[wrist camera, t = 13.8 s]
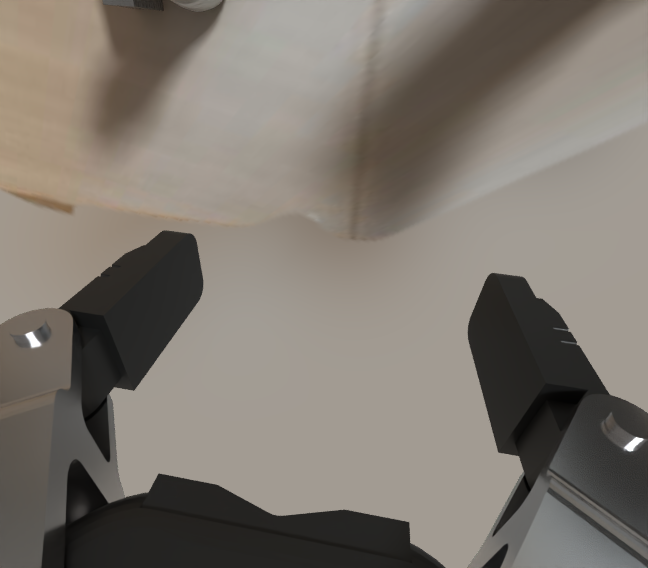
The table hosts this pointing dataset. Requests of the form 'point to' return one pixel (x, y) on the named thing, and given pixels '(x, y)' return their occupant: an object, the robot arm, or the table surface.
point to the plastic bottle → (197, 4)
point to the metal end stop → (136, 4)
